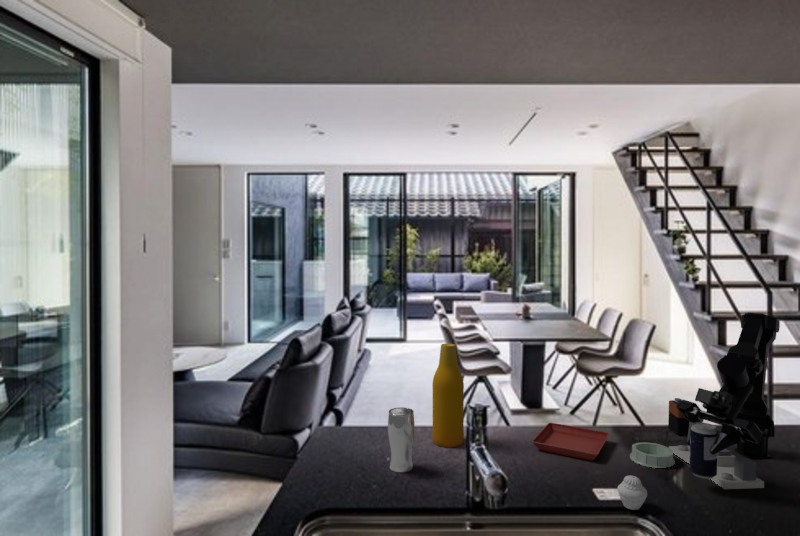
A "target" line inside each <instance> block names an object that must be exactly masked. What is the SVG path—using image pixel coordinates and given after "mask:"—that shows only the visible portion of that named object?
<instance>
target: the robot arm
mask: <svg viewBox="0 0 800 536" xmlns="http://www.w3.org/2000/svg"><path fill="white" fill-rule="evenodd" d="M740 321H741V322H740V328H741V331H740V334H739V336H738V341H737V343H736V344H735V345H733V346H731V347H729V349H728V351H727V353H726V354H724V356H723V357H721V358H720V359H719V360H718V361H717V364H716V368H717V370H718V374H719V377H720V379H721V383H722V386H721V387H720V389H719V390H713V391H712V390H707V389H706V388H705V389H704V388H701V387H698V389H697V392H696V394H695V395H696V396H695V398H694V401H695V402H692V401H691V400H690V401H689V400H686V399H682V400H680V401H679V402H678V404H677V406H676V408H677V409H678V410H679V411H680V413H681V414H682V415H683V416H684V417H685V419H687V420H689V430H688V436H686V445H687V446H690V429H691V427H692V426H693V425H692V424H693V423H695V422H703V423H704V421H706V422H711V423H714V424H717V425H719V426H721V431H720V433H719V434H718V438H717V440H716V441H715V443H714V444H713V446H712V448H711V450H710V453H711V454H712V455H714V454H716V453H718V452H720V451H722V450H724V449H728V448H730V447H731V446H733V445H736V447H734V448H733V451H735V452H738V453H739V454H741V455H743V456H744V457H747V458H749V459H751V460H753V459H772V458H773V457H772V456H773V455H771V454H769V453H768V452H769V451H768V449H769V448H768V447H769V446H768V445H769V439H770V438H774V437H776V431H775V427H776V426H775V421H774V420H773V418H772V417H773V416H772V415H771V414H770V413H771V412H770V411H771V410H770V408H769V406H768V404H767V403H766V401H765V399H764V398H765V388H766V375H767V364H768V363H767V362H768V352H769V347H770V346H771V345H773V343H774V342H775V340H776V339H777V333H779V332H780V319H779V318H778V317H775V315H771V314H765V313H761V312H747V313H744V314H741V320H740ZM696 402H699V403H701V404H702V405H701V406H702V407H703V409H704V410H702V409H701V408H700V407H699V405H698V404H697V403H696Z"/></svg>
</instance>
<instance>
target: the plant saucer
mask: <svg viewBox="0 0 800 536" xmlns="http://www.w3.org/2000/svg"><path fill="white" fill-rule="evenodd" d="M609 436H610V433H609V432H606V431H600V430H594V429H589V428H584V427H578V426H571V425H565V424H561V423H555V422H549V423H547V424H546V425H545V426H544V427H543V428H542V429H541V430H540V432H539V433H538V434H537V435H535V437H533V439H532V440H531V441H532V443H533V445H534V446H535V447H536V449H538V450H539V451H542V452H547V453H551V454H557V455H562V456H566V457H571V458H576V459H580V460H587V461H594V460H595V459H596V457H597V456H598V455H599V454H600V452H601V450H602V448H603V447H604V445H605V443H606V441H607V440H608V438H609Z"/></svg>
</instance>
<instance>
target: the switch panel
mask: <svg viewBox="0 0 800 536" xmlns="http://www.w3.org/2000/svg"><path fill="white" fill-rule="evenodd" d="M668 448H670V449H671V450H673V453H674V454H675V455H677V456H678V457H680V458H681V459H683V460H684V461H685V462H687V463H689V464H690V446H689V445H684V444H680V445H679V444H678V445H672V446H671V445H669V446H668ZM675 455H674V456H675ZM678 457H677V458H678ZM681 459H680V460H681ZM684 461H683V462H684ZM685 462H684V463H685ZM711 480H712V482H713V481H714V482H715V483H714V482H713V483H714V484H716V485H717V484H718V485H717V486H718V487H720V488H721V487H722V489H723V490H739V489H740V490H741V489H743V490H744V489H764V488H765V481H764V480H762V479H760V478H758V476H757V462H756V461H754V460H753V459H750V458H748V457H746V456H744V457H736V455H734V454H732V453H731V456H717V475H716V476H714V477H713V478H712V479H711ZM711 480H710V481H711Z"/></svg>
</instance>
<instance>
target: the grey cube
mask: <svg viewBox="0 0 800 536" xmlns="http://www.w3.org/2000/svg"><path fill="white" fill-rule="evenodd" d="M731 454H732V453H731V451H730V450H729V449H728V448H726V449H724V450H722V451H720V452H718V453H717V456H731Z"/></svg>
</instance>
